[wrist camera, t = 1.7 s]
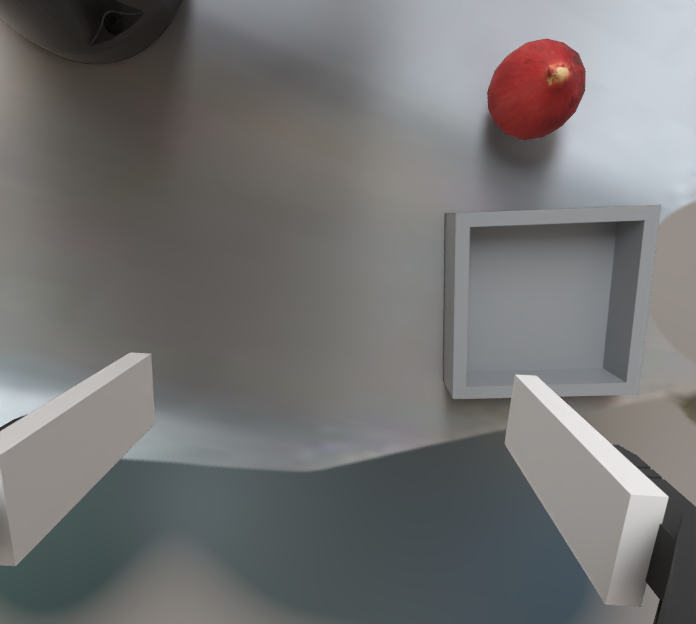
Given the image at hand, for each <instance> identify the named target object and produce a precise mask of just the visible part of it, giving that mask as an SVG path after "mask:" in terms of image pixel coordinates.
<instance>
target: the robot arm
mask: <svg viewBox="0 0 696 624" xmlns="http://www.w3.org/2000/svg"><path fill="white" fill-rule="evenodd" d="M180 2H181V0H0V19H1V20H2V21H3V22H4V23H5V24H6V25H8V26H9V27H10V28H12V29H13V30H14V31H15V32H17V33H18V34H20V35H21V36H23V37H24V38H26V39H28V40H29V41H31V42H33V43H35V44H37V45H38V46H40V47H42V48H44V49H46V50H48V51H50V52H52V53H54V54H56V55H58V56H60V57H63V58H66V59H69V60H72V61H77V62H82V63H91V64H102V63H110V62H116V61H119V60H123V59H126V58H128V57H131V56H133V55H135V54H137V53H138V52H140V51H142V50H143V49H145V48H146V47H148V46H149V45H150V44H151V43H152V42H154V41H155V40H156V39H157V38H158V37H159V36H160V35H161V34H162V32H163V31H164V30H165V29H166V27H167V26H168V25H169V23H170V22H171V20H172V18H173V17H174V15H175V13H176V11H177V9H178V7H179V4H180ZM154 424H155V410H154V393H153V376H152V359H151V354H147V353H129V354H127V355H125V356H124V357H122V358H120V359H119V360H117V361H115V362H114V363H112V364H110V365H109V366H107V367H106V368H104V369H102V370H101V371H99V372H97V373H96V374H94V375H92V376H91V377H89V378H87V379H86V380H84V381H82V382H81V383H79V384H77V385H76V386H74V387H72V388H71V389H69V390H67V391H66V392H64V393H62V394H61V395H59V396H58V397H56V398H54V399H53V400H51V401H49V402H48V403H46V404H44V405H43V406H41V407H39V408H38V409H36V410H34V411H33V412H31V413H29V414H27V415H24V416H22V417H19V418H17V419H14V420H12V421H10V422H9V423H7V424H5V425H4V426H2V427H0V565H5V566H16V565H17V564H18V563H19V562H20V561H21V560H22V559H23V558H24V557H25V556H26V555H27V554H28V553H29V552H30V551H31V550H32V549H33V548H34V547H35V546H36V545H37V544H38V543H39V542H40V541H41V540H42V539H43V537H44V536H46V535H47V534H48V532H49V531H50V530H51V529H52V528H53V527H54V526H55V525H56V524H57V523H58V522H59V521H60V520H61V519H62V518H63V517H64V516H65V515H66V514H67V513H68V512H69V511H70V510H71V509H72V508H73V507H74V506H75V505H76V504H77V503H78V502H79V501H80V500H81V499H82V498H83V497H84V496H85V494H87V493H88V491H89V490H90V489H91V488H92V487H93V486H94V485H95V484H96V483H97V482H98V481H99V480H100V479H101V478H102V477H103V476H104V475H105V474H106V473H107V472H108V471H109V470H110V469H111V468H112V467H113V466H114V465H115V464H116V463H117V462H118V461H119V460H120V459H121V458H122V457H123V456H124V455H125V454H126V453H127V452H128V451H129V450H130V449H131V447H132V446H133V445H134V444H135V443H136V442H137V441H138V440H139V439H140V438H141V437H142V436H143V435H144V434H145V433H146V432H147V431H148V430H149V429H150V428H151V427H152V426H153V425H154ZM505 445H506V447H507V449H508V450H509V452H510V453H511V455H512V456H513V458H514V460H515V461H516V463H517V464H518V466H519V468H520V469H521V471H522V472H523V474H524V476H525V477H526V479H527V480H528V482H529V483H530V485H531V487H532V488H533V490H534V491H535V493H536V495H537V496H538V498H539V499H540V501H541V503H542V504H543V506H544V507H545V509H546V511H547V512H548V514H549V515H550V517H551V519H552V520H553V522H554V523H555V525H556V526H557V528H558V530H559V531H560V533H561V534H562V536H563V538H564V539H565V541H566V542H567V544H568V546H569V547H570V549H571V550H572V552H573V554H574V555H575V557H576V558H577V560H578V561H579V563H580V565H581V566H582V568H583V569H584V571H585V573H586V574H587V576H588V577H589V579H590V581H591V582H592V584H593V585H594V587H595V588H596V590H597V592H598V593H599V595H600V596H601V598H602V600H603V601H604V603H605V604H607V605H623V606H639V607H641V604H642V600H643V595H644V592H645V588H646V584H648V585H649V586H650V587H651V589H652V590H653V591H654V593H655V594H656V595H657V596H658V598H659V599H660V601H659V604H658V608H657V612H656V616H655V619H654V623H653V624H696V507H695V506H694V505H693V504H692V503H691V502H689V501H688V500H687V499H686V498H685V497H684V496H683V495H682V494H680V493H679V492H678V491H677V490H676V489H675V488H673V487H672V486H671V485H670V484H669V483H668V482H667V481H665V480H663V479H662V478H661V476H660V475H659V474H657V473H656V472H655V471H654V470H652V469H650V467H649V466H648V465H647V464H646V463H645V462H644V461H642V460H641V459H640V458H639V457H638V456H637V455H635V454H633V453H631V452H630V451H628V450H626V449H624V448H623V447H621V446H619V445H612V444H610V443H609V442H608V441H607V440H606V439H605V438H604V437H603V436H602V435H601V434H600V433H598V432H597V431H596V430H595V429H594V428H593V427H592V426H591V425H590V424H588V422H586V421H585V420H584V419H583V418H582V417H581V416H580V415H579V414H578V413H577V412H576V411H574V410H573V409H572V408H571V407H570V406H569V405H568V404H567V403H566V402H565V401H564V400H562V399H561V398H560V397H559V396H558V395H557V394H556V393H555V392H554V391H553V390H552V389H550V388H549V387H548V386H547V385H546V384H545V383H544V382H543V381H542V380H541V379H539V378H538V377H537V376H534V375H516V374H515V377H514V384H513V390H512V397H511V404H510V410H509V417H508V424H507V431H506V438H505Z"/></svg>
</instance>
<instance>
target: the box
mask: <svg viewBox="0 0 696 624" xmlns="http://www.w3.org/2000/svg"><path fill="white" fill-rule="evenodd" d="M660 211H661V205H645V206H620V207H594V208H569V209H544V210H519V211H494V212H469V213H445V232H444V323H443V381H444V383H445V385H446V387H447V389H448V391H449V393H450V395H451V397H452V399H482V398H511V397H512V390H513V384H514V377H515V374H516V375H534V376H537V377H538V378H539V379H541V380H542V381H543V382H544V383H545V384H546V385H547V386H548V387H549V388H550V389H552V390H553V391H554V392H555V393H556V394H557V395H558V396H559V397H566V396H608V395H639V386H640V378H641V370H642V361H643V353H644V345H645V336H646V328H647V320H648V311H649V303H650V295H651V286H652V278H653V268H654V261H655V253H656V244H657V236H658V228H659V219H660Z"/></svg>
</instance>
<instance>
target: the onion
mask: <svg viewBox="0 0 696 624" xmlns="http://www.w3.org/2000/svg"><path fill="white" fill-rule="evenodd" d="M585 72H586V71H585V68H584V66H583V63H582V61H581V59H580V56H579V54H578V53H577V52H576V51H574V50H573V49H572V48H570V47H569V46H567V45H566V44H565V43H563V42H559V41H554V40H550V39H543V40H537V41H532V42H528V43H525V44H524V45H522V46H521V47H519V48H518V49H516V50H515V51H513V52H512V53H511V54H509V55H508V56H507V57H506V58H505V59H504V60H503V62H502V63H501V64H500V65H499V66H498V68H497V69H496V70H495V72H494V74H493V77H492V80H491V83H490V86H489V89H488V92H487V95H488V109H489V111H490V114H491V116H492V118H493V120H494V122H495V124H496V125H497V126H498V127H499V128H500V129H501V130H502V131H503V132H504V133H505V134H508V135H510V136H513V137H516V138H519V139H524V140H526V139H533V138H541V137H544V136H546V135H547V134H549V133H551V132H553V131H555V130H557V129H558V128H560V127H561V126H562V125H563V124H564V123H565V122H566V121H567V120H568V119H569V118H570V117H571V116H572V115H573V114H574V113H575V112H576V109H577V107H578V105H579V103H580V101H581V99H582V96H583V94H584V92H585Z"/></svg>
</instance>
